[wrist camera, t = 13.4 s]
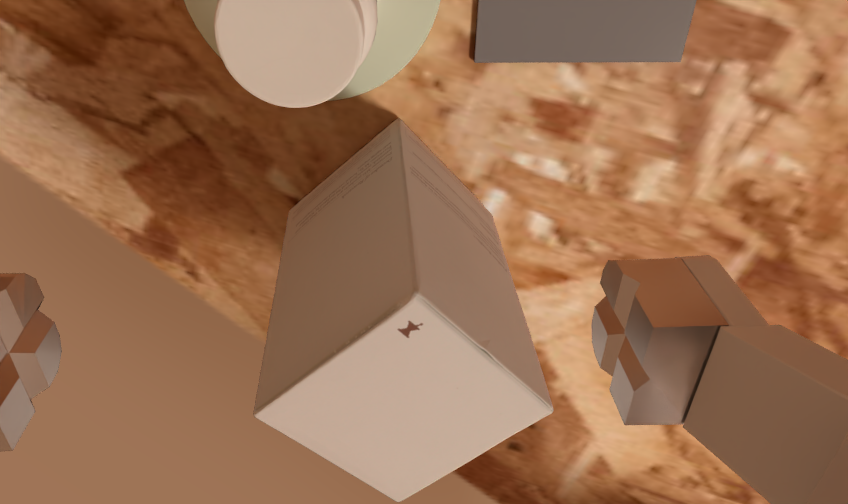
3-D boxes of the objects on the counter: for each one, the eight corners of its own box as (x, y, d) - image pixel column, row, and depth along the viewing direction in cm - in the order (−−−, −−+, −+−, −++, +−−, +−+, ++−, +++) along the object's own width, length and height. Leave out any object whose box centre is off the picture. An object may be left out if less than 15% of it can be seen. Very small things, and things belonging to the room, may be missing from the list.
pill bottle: (396, -57, 23) (409, -3, 16) (346, 58, 26) (338, 148, 19) (273, -123, 22) (231, -95, 15) (232, 5, 24) (177, 81, 17)
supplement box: (283, 209, 30) (240, 415, 20) (399, 112, 28) (420, 288, 17) (386, 296, 34) (395, 510, 23) (497, 216, 31) (562, 415, 21)
